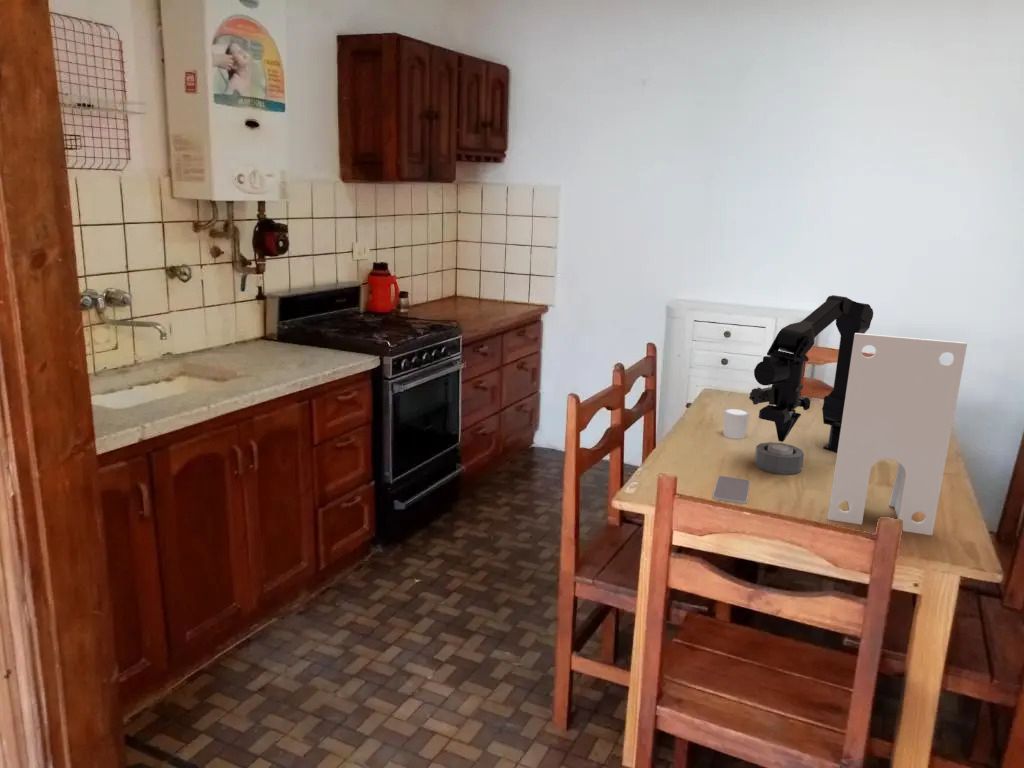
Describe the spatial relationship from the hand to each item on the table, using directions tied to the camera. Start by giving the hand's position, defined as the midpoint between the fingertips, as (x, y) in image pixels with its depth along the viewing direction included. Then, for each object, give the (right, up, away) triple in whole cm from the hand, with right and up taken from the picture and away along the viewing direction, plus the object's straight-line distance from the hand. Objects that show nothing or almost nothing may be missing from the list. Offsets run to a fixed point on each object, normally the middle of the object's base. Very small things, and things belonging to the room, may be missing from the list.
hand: (781, 441), depth 199 cm
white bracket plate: (+12, -14, -25) cm, 31 cm away
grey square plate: (-16, -11, -15) cm, 24 cm away
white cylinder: (-5, 0, +25) cm, 26 cm away
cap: (0, -5, +1) cm, 6 cm away
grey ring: (0, -6, +2) cm, 7 cm away
